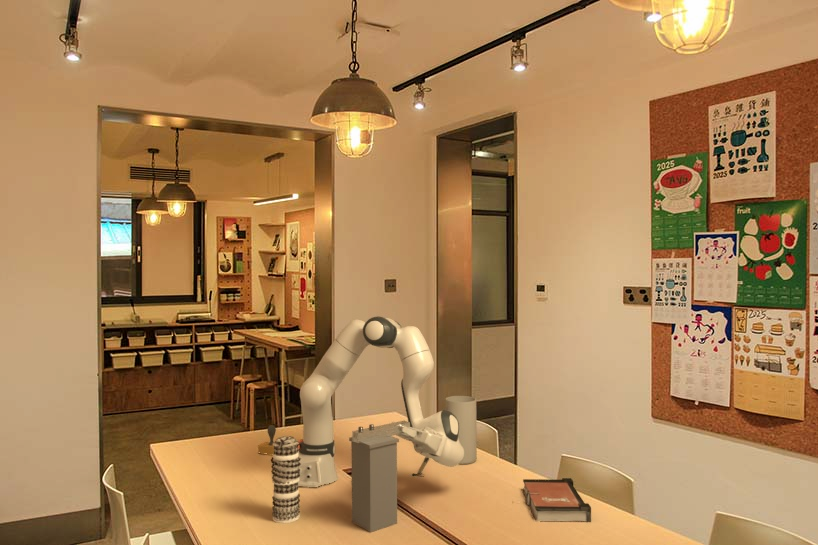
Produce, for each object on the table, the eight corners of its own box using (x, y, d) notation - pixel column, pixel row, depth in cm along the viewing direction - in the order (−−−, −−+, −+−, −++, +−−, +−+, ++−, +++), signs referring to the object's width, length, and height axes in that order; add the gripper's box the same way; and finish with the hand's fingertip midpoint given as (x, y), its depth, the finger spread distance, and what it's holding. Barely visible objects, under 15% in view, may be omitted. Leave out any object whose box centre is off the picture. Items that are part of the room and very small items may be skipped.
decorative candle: (274, 525, 185) (273, 443, 184) (268, 514, 193) (268, 436, 193) (304, 520, 188) (303, 440, 188) (297, 510, 197) (296, 433, 197)
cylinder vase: (468, 466, 239) (467, 403, 239) (440, 461, 246) (440, 400, 246) (481, 458, 250) (481, 397, 249) (454, 453, 256) (454, 394, 256)
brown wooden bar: (358, 443, 181) (358, 429, 181) (352, 441, 183) (352, 427, 183) (409, 431, 194) (409, 418, 194) (404, 429, 196) (404, 416, 196)
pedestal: (370, 533, 179) (369, 445, 179) (349, 521, 187) (349, 437, 187) (399, 523, 186) (399, 438, 186) (378, 512, 194) (378, 431, 194)
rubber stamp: (285, 452, 260) (285, 424, 259) (277, 456, 254) (277, 427, 254) (265, 450, 263) (265, 422, 263) (257, 453, 258) (257, 425, 258)
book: (521, 492, 213) (521, 477, 213) (571, 492, 212) (571, 478, 212) (533, 523, 187) (533, 507, 187) (591, 523, 186) (591, 507, 186)
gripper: (410, 426, 209) (382, 411, 201) (450, 439, 193) (421, 423, 185) (403, 443, 207) (374, 429, 199) (443, 458, 191) (413, 443, 183)
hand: (397, 426), depth 192 cm, fingers closed on brown wooden bar, 3 cm apart
